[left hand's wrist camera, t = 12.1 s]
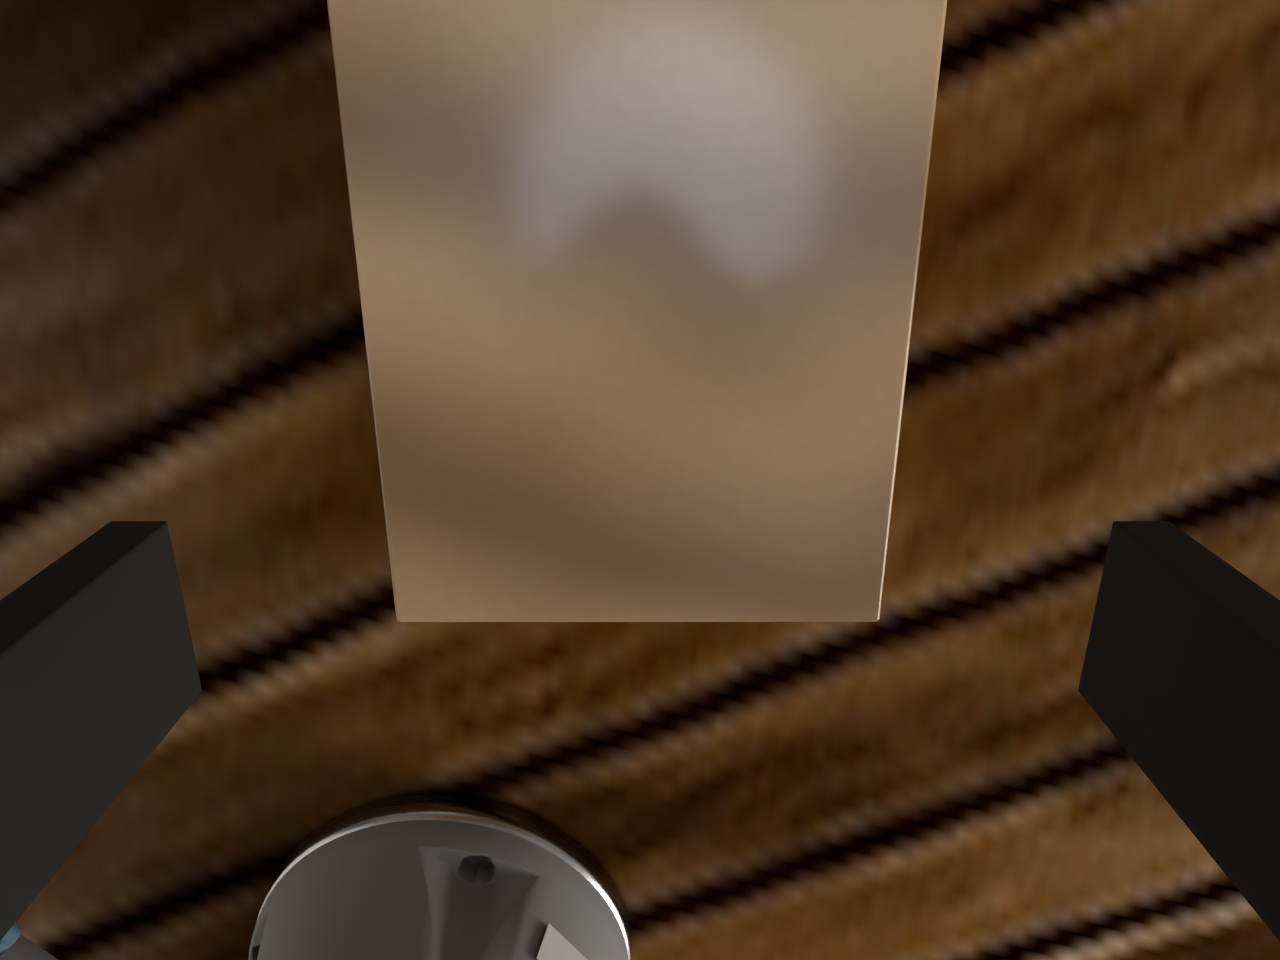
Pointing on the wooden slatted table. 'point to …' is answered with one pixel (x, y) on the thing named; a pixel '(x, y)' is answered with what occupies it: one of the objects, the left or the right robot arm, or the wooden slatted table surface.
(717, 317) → the cabinet
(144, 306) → the wooden slatted table surface
